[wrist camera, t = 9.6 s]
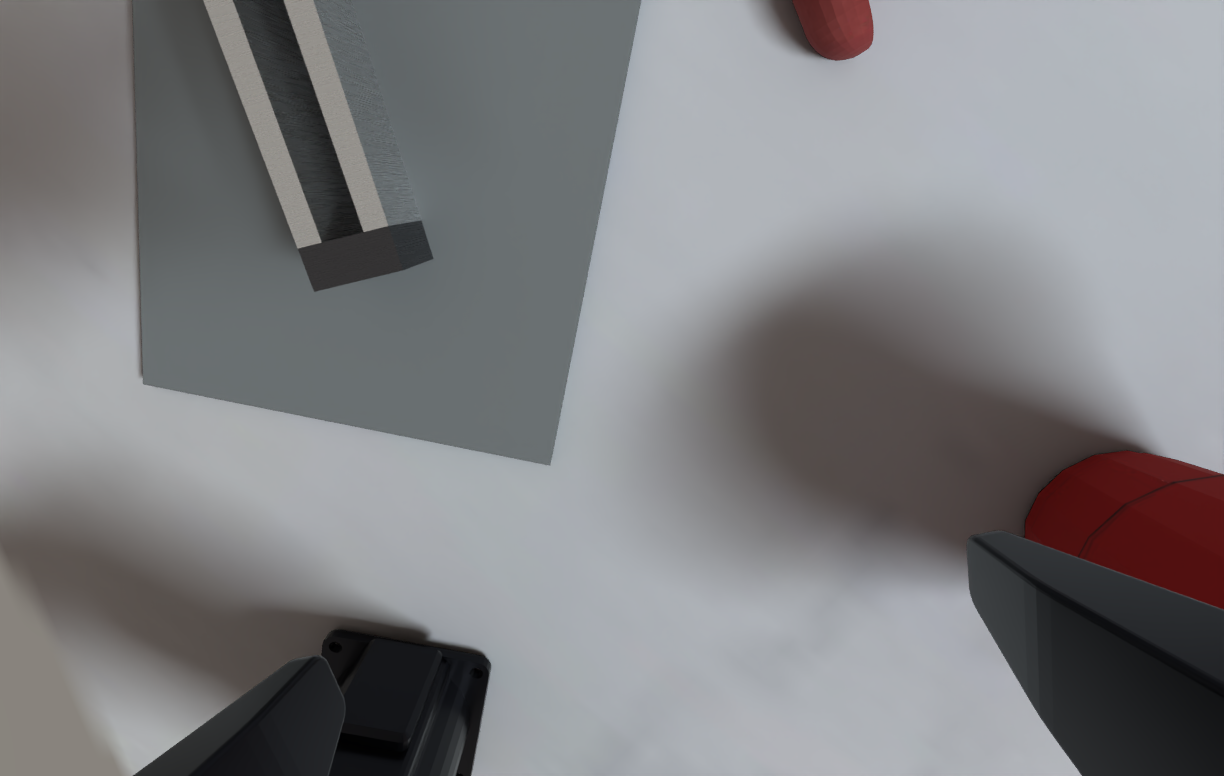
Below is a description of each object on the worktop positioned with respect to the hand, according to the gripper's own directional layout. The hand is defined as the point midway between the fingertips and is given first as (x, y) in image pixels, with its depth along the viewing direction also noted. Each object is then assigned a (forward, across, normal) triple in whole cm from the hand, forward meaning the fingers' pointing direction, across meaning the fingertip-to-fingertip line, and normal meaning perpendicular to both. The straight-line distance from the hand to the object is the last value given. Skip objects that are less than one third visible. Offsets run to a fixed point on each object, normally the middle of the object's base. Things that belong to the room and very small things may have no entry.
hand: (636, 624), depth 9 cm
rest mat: (+13, +6, -8) cm, 17 cm away
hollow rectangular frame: (+11, +7, -5) cm, 14 cm away
